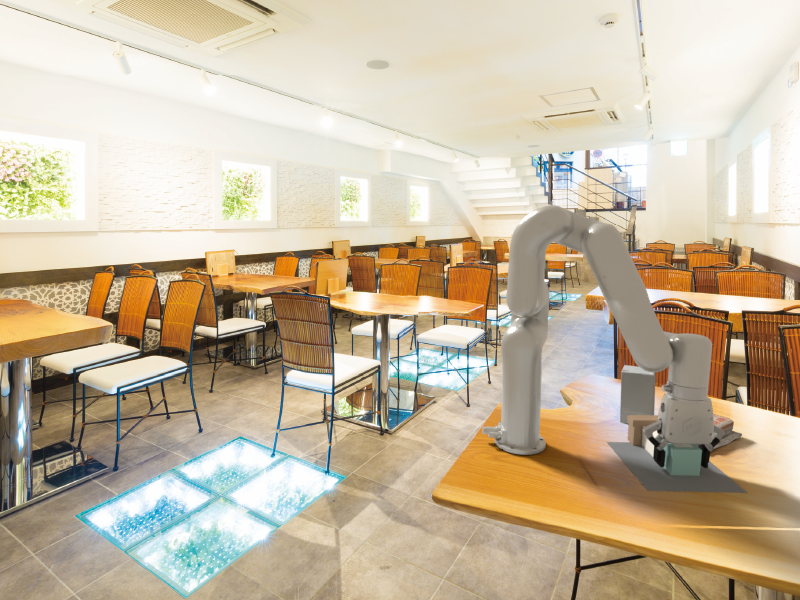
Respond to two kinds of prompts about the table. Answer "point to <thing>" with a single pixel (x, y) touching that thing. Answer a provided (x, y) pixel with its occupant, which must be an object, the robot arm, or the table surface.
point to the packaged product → (726, 426)
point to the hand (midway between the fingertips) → (680, 464)
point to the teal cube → (683, 459)
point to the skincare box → (636, 392)
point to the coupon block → (641, 430)
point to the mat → (663, 480)
